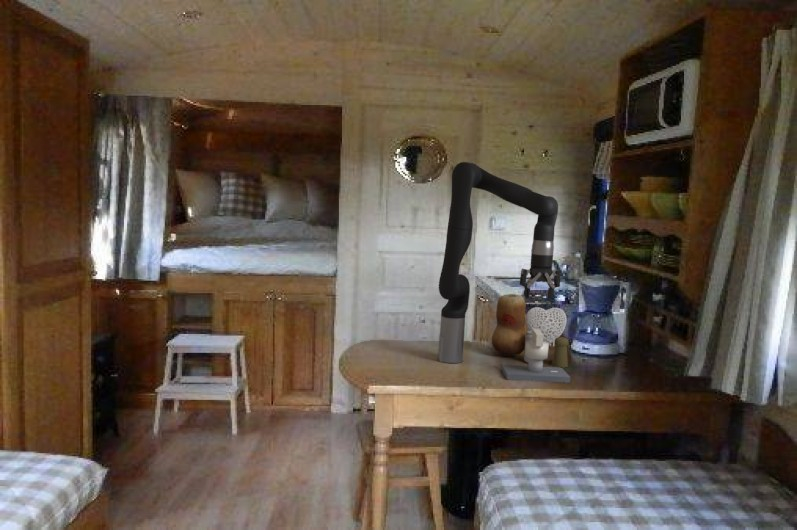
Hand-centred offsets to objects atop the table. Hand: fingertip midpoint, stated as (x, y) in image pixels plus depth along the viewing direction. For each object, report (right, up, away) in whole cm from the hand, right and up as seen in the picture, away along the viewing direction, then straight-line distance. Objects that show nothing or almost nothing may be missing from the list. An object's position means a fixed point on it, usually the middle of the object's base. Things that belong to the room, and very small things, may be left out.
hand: (538, 298), depth 217 cm
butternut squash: (-6, -25, +29) cm, 39 cm away
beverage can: (+2, -26, +21) cm, 34 cm away
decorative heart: (+13, -24, +48) cm, 55 cm away
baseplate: (-1, -28, +3) cm, 28 cm away
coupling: (0, -21, +2) cm, 21 cm away
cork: (+12, -27, +18) cm, 35 cm away
